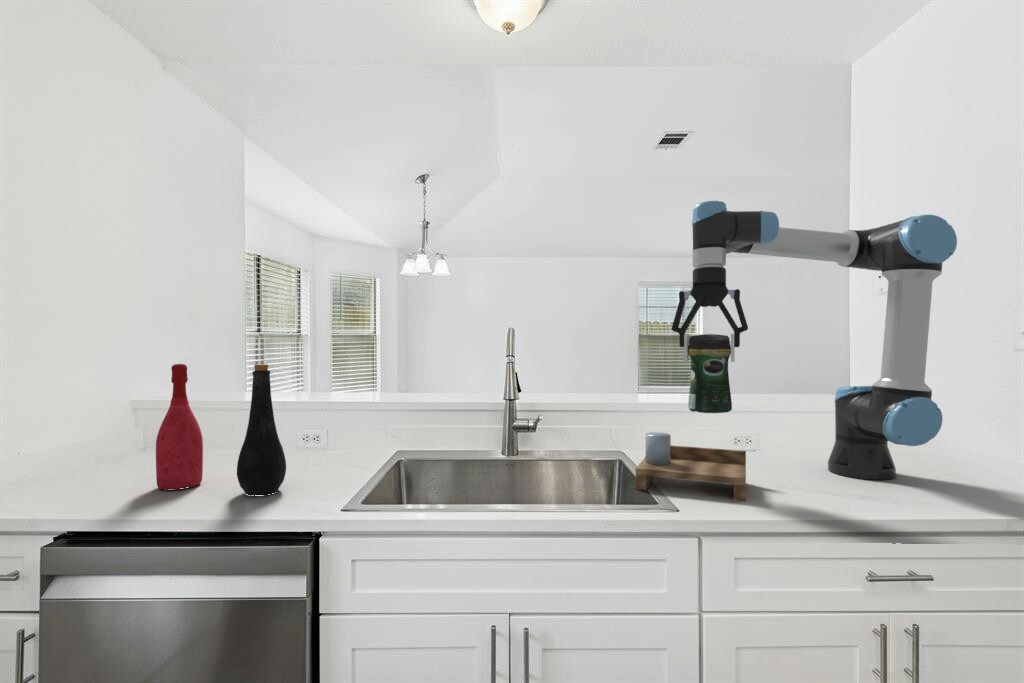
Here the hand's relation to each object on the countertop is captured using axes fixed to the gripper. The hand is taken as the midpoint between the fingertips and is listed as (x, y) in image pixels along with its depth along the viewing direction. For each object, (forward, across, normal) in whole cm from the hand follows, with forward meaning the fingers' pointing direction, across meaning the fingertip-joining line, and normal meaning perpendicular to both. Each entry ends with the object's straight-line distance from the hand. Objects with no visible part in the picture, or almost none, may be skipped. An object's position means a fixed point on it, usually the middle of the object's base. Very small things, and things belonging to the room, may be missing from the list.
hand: (709, 361), depth 129 cm
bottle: (+31, +96, +45) cm, 110 cm away
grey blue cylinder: (+25, +12, 0) cm, 28 cm away
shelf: (+30, +4, 0) cm, 31 cm away
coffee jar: (+12, 0, 0) cm, 12 cm away
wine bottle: (+31, +119, +49) cm, 132 cm away
